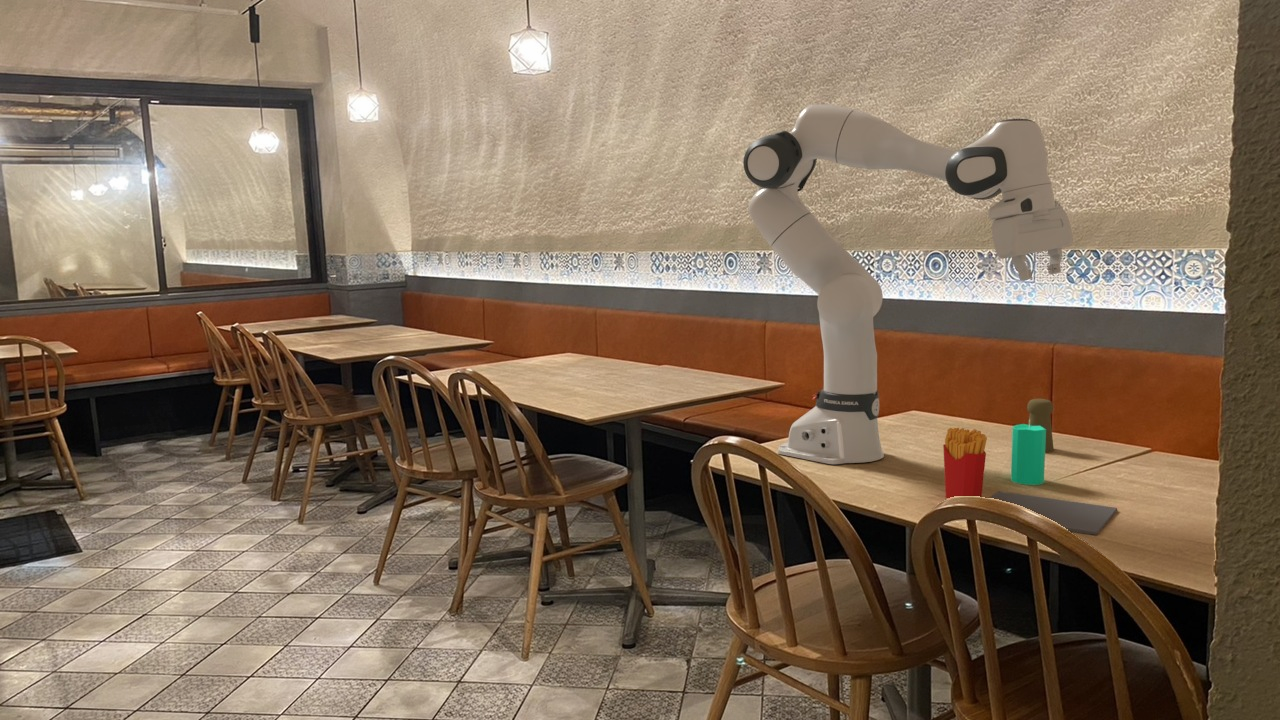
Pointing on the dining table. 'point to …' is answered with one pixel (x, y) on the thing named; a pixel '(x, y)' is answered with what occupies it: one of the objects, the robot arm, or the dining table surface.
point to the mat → (1064, 511)
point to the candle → (1028, 454)
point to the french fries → (964, 462)
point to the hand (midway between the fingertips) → (1040, 276)
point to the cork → (1042, 418)
